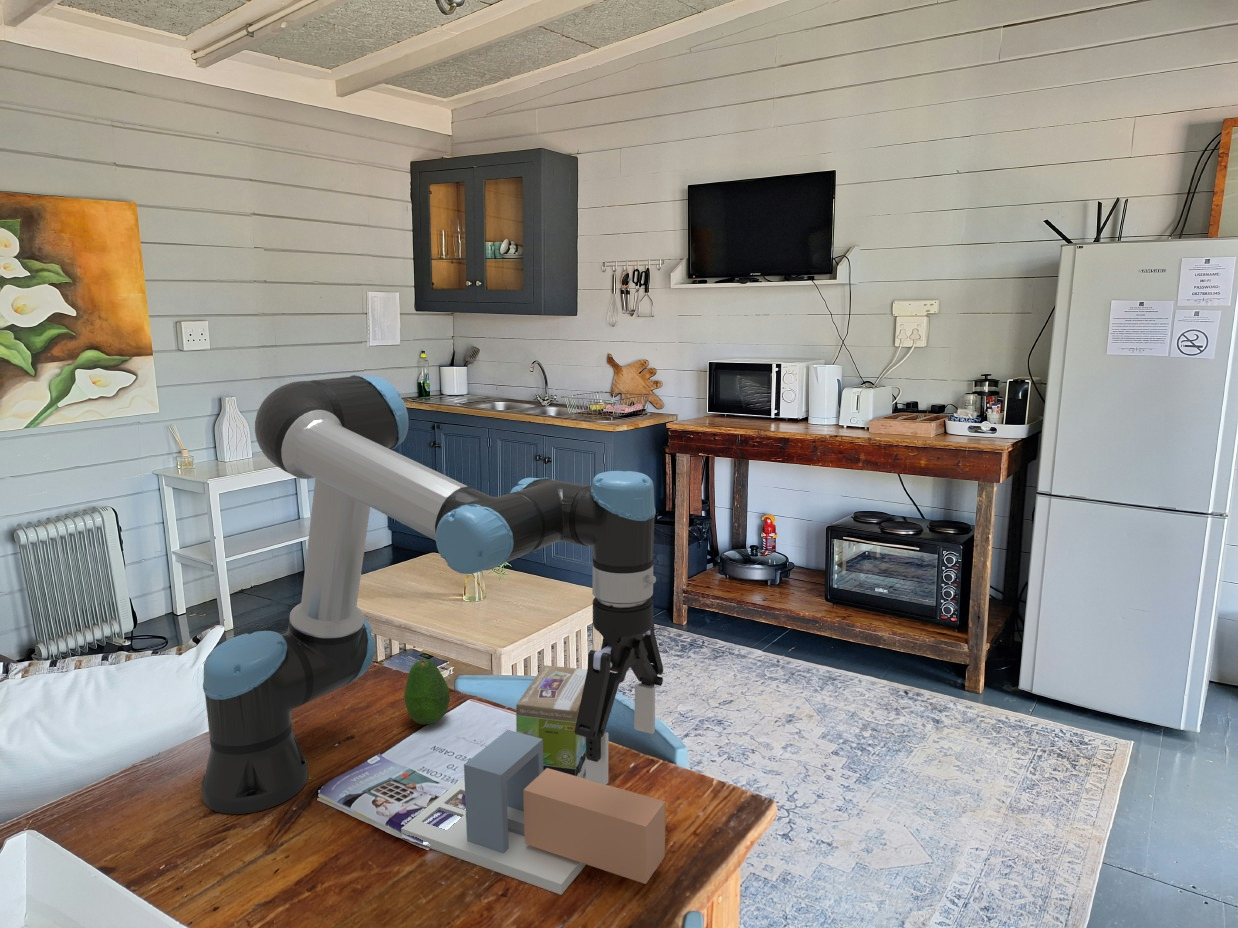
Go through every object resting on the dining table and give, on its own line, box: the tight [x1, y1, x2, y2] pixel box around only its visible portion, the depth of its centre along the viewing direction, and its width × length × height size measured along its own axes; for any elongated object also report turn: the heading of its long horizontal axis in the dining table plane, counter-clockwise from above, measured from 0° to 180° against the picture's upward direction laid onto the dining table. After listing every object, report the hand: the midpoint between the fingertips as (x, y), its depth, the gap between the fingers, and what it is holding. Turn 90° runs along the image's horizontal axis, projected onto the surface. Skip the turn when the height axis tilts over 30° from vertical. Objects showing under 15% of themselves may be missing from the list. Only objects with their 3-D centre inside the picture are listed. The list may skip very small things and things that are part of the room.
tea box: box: [515, 664, 587, 779], centre depth 134 cm, size 15×10×15 cm
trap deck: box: [400, 729, 587, 896], centre depth 117 cm, size 26×14×13 cm, turn 63°
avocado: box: [403, 659, 451, 726], centre depth 149 cm, size 8×8×12 cm
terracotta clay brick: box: [523, 768, 666, 885], centre depth 111 cm, size 18×6×8 cm, turn 63°
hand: (622, 754), depth 108 cm, fingers open, 13 cm apart
